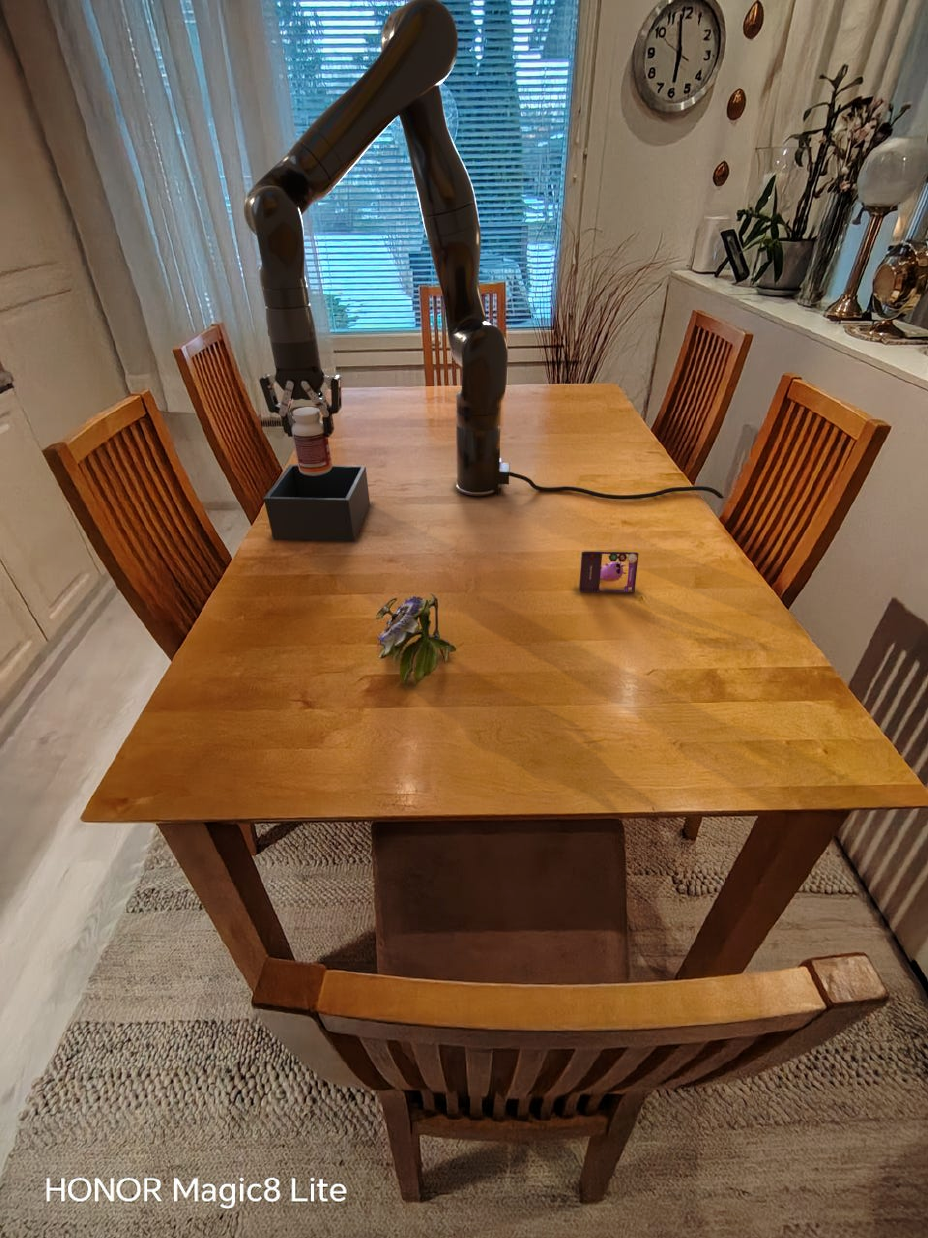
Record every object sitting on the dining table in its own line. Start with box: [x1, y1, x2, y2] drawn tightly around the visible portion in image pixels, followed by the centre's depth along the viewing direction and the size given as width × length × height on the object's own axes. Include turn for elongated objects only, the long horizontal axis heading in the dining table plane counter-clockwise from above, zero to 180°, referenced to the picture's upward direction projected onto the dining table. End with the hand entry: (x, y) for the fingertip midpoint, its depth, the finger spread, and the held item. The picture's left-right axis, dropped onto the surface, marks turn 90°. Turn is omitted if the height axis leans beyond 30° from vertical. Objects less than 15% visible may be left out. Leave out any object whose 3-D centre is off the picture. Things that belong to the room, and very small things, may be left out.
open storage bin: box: [263, 464, 371, 543], centre depth 115 cm, size 16×16×8 cm
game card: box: [578, 550, 639, 594], centre depth 97 cm, size 7×5×9 cm
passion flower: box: [375, 593, 457, 686], centre depth 82 cm, size 11×11×12 cm
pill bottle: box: [292, 406, 333, 476], centre depth 108 cm, size 6×6×11 cm
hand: (309, 435), depth 107 cm, fingers closed on pill bottle, 6 cm apart
